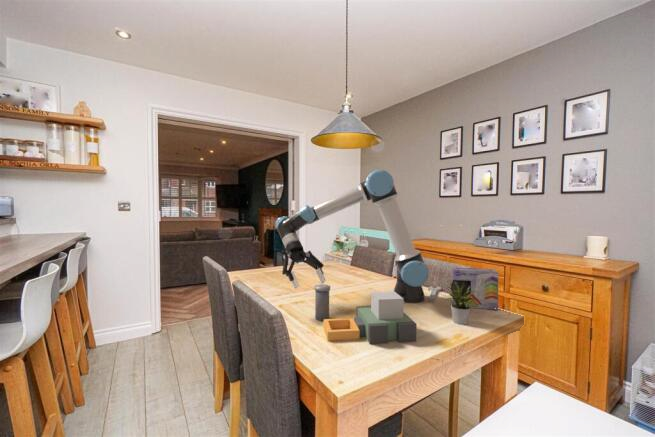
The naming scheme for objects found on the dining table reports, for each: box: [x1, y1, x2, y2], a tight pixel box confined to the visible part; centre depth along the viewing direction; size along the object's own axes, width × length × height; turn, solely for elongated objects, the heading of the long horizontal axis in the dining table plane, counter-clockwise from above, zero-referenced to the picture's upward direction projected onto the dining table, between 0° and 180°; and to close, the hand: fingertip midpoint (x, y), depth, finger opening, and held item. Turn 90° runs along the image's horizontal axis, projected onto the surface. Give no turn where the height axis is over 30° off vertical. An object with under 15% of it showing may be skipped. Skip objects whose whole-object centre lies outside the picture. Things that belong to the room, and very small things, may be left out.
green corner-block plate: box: [323, 290, 417, 345], centre depth 102 cm, size 30×19×13 cm, turn 98°
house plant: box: [444, 281, 479, 326], centre depth 111 cm, size 14×14×16 cm
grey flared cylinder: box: [314, 283, 331, 322], centre depth 113 cm, size 6×6×13 cm
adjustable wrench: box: [427, 285, 442, 303], centre depth 147 cm, size 25×6×2 cm, turn 150°
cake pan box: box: [450, 266, 499, 311], centre depth 128 cm, size 19×5×18 cm, turn 72°
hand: (310, 284), depth 119 cm, fingers open, 13 cm apart
